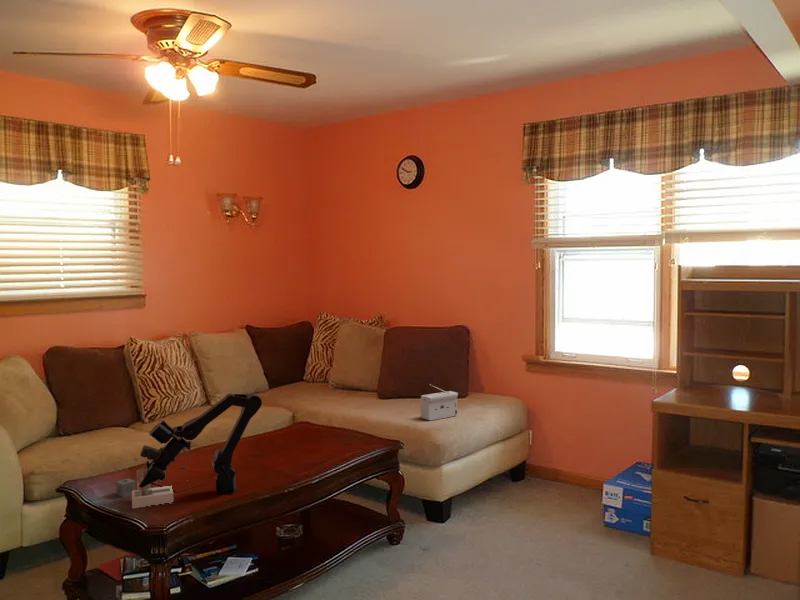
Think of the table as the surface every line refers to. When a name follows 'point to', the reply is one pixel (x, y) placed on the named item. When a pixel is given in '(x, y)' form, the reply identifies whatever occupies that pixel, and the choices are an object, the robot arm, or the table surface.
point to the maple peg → (140, 476)
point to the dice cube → (125, 487)
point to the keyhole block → (152, 497)
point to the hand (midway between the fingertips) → (139, 484)
